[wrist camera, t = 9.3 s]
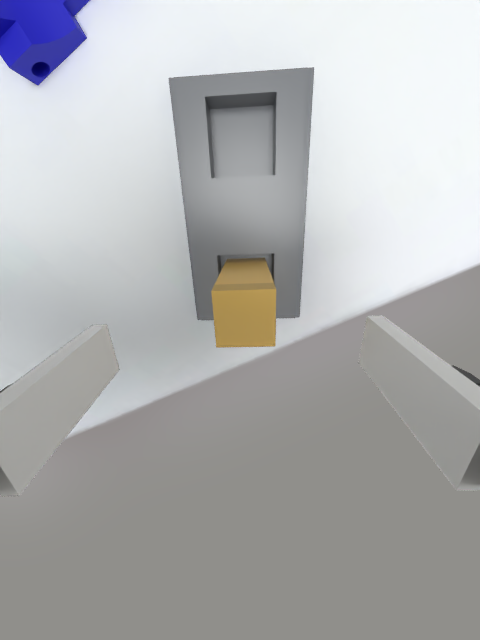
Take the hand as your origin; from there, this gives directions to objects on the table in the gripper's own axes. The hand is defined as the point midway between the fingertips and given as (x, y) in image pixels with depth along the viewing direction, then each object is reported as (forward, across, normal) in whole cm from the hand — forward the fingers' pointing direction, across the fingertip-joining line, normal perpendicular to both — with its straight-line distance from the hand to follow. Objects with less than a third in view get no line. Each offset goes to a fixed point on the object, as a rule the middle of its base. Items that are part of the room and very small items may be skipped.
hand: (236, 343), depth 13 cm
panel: (+16, +1, +6) cm, 18 cm away
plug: (+15, +1, 0) cm, 15 cm away
